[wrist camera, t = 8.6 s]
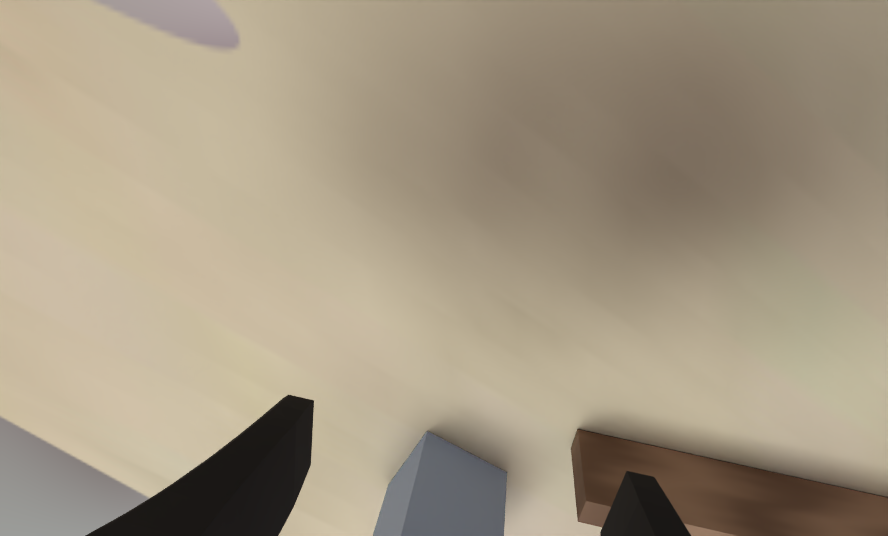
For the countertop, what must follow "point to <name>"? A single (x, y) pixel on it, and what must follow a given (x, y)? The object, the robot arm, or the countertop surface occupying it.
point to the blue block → (443, 494)
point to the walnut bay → (721, 493)
